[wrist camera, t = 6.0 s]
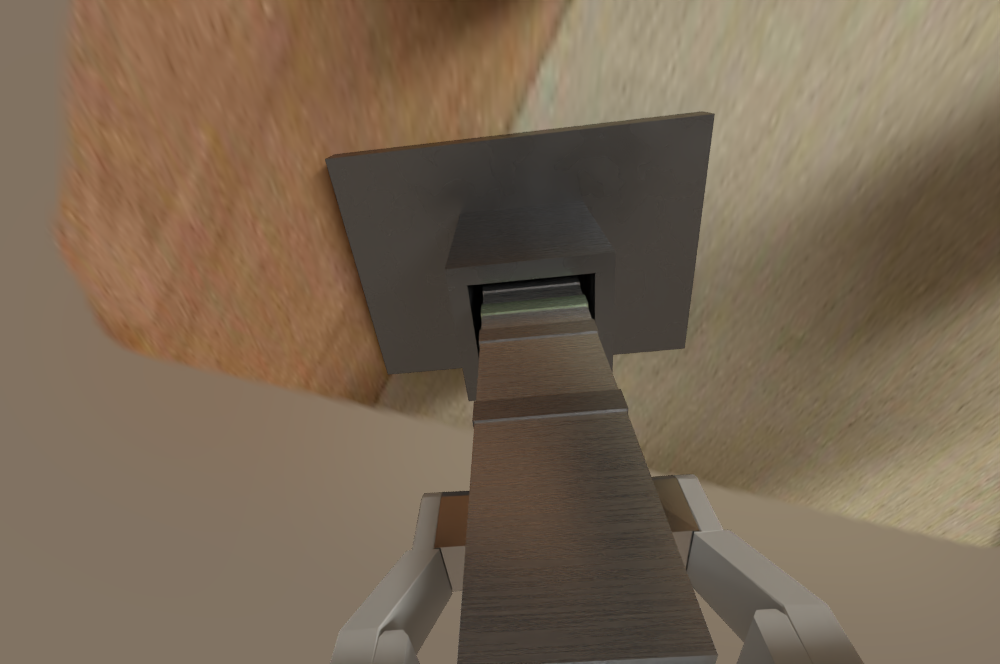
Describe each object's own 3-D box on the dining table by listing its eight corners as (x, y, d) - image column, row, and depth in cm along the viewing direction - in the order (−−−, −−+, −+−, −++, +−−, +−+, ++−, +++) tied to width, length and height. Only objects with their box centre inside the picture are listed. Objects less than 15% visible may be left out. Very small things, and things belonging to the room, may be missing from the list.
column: (571, 260, 20) (722, 652, 7) (573, 335, 22) (691, 753, 9) (484, 269, 21) (453, 667, 7) (494, 342, 23) (485, 761, 9)
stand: (702, 111, 23) (832, 136, 14) (676, 336, 30) (751, 449, 21) (334, 154, 24) (236, 202, 15) (392, 362, 31) (349, 479, 22)
